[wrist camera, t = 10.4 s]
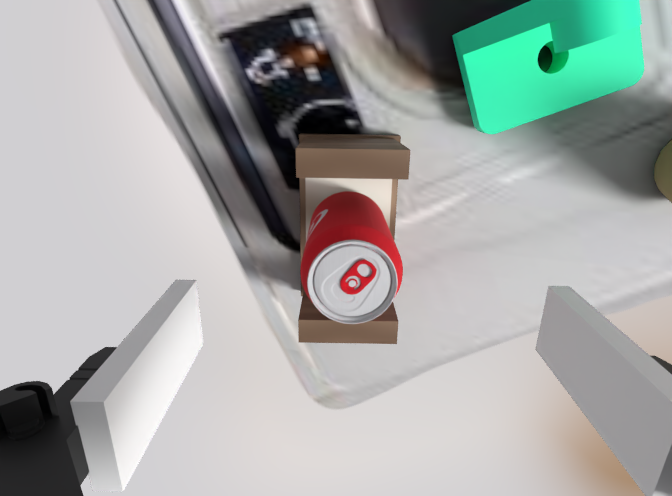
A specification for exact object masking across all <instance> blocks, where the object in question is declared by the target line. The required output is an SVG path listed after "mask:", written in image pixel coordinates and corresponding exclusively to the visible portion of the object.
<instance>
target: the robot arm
mask: <svg viewBox="0 0 672 496" xmlns="http://www.w3.org/2000/svg"><path fill="white" fill-rule="evenodd" d="M202 345H203V335H202V326H201V317H200V307H199V298H198V289H197V281H196V280H175V282H174V283H173V284H172V285H171V286H170V288H168V290H167V291H166V292H165V293H164V294H163V295H162V296H161V298H160V299H159V300H158V301H157V302H156V304H155V305H154V306H153V307H152V308H151V309H150V310H149V311H148V313H147V314H146V315H145V316H144V317H143V318H142V320H141V321H140V322H139V323H138V324H137V325H136V326H135V328H134V329H133V330H132V331H131V332H130V333H129V335H128V336H127V337H126V338H125V339H124V340H123V341H122V342H121V344H120V345H119V346H118V347H105V348H103V349H102V350H100V351H98V352H97V353H95V354H93V355H92V356H90V357H89V358H88V359H87V360H86V361H85V362H84V363H83V364H82V365H81V366H80V367H79V370H78V371H76V372H75V373H74V374H73V375H72V376H71V377H70V380H67V381H66V382H65V383H64V384H63V385H62V386H61V387H60V389H59V390H58V391H57V392H56V393H55V394H54V395H53V391H52V388H51V387H50V386H49V384H47V383H44V382H40V381H33V382H25V383H20V384H16V385H13V386H11V387H9V388H6V389H3V390H1V391H0V496H83V493H82V490H81V487H80V485H81V484H82V482H83V481H84V479H85V478H86V476H87V475H89V479H90V483H91V487H92V491H112V492H123V491H124V489H125V487H126V485H127V483H128V482H129V480H130V478H131V476H132V474H133V472H134V471H135V469H136V467H137V465H138V463H139V461H140V460H141V458H142V456H143V454H144V452H145V450H146V448H147V447H148V445H149V443H150V441H151V439H152V437H153V436H154V434H155V432H156V430H157V428H158V426H159V424H160V423H161V421H162V419H163V417H164V415H165V413H166V412H167V410H168V408H169V406H170V404H171V402H172V401H173V399H174V397H175V395H176V393H177V391H178V389H179V388H180V386H181V384H182V382H183V380H184V378H185V377H186V375H187V373H188V371H189V369H190V367H191V366H192V364H193V362H194V360H195V358H196V356H197V354H198V353H199V351H200V349H201V347H202ZM536 351H537V352H538V353H539V355H540V356H541V357H542V359H543V360H544V361H545V363H546V364H547V365H548V367H549V368H550V369H551V370H552V372H553V373H554V375H555V376H556V377H557V379H558V380H559V381H560V383H561V384H562V385H563V387H564V388H565V389H566V390H567V392H568V393H569V395H570V396H571V397H572V399H573V400H574V401H575V403H576V404H577V405H578V407H579V408H580V409H581V411H582V412H583V413H584V415H585V416H586V417H587V419H588V420H589V421H590V423H591V424H592V425H593V427H594V428H595V429H596V431H597V432H598V433H599V435H600V436H601V437H602V439H603V440H604V441H605V443H606V444H607V445H608V447H609V448H610V449H611V450H612V452H613V453H614V454H615V456H616V457H617V459H618V460H619V461H620V462H621V464H622V465H623V467H624V468H625V469H626V471H627V472H628V473H629V475H630V476H631V477H632V479H633V480H634V481H635V483H636V484H637V485H638V486H639V488H640V489H641V491H642V492H643V493H644V494H645V496H672V365H671V364H669V363H667V362H666V361H663V360H662V359H660V358H658V357H656V356H650V355H648V354H647V353H646V352H645V351H644V350H642V348H640V347H639V346H638V345H637V344H635V342H633V341H632V340H631V339H630V338H629V337H627V336H626V335H625V334H624V333H623V332H622V331H620V330H619V329H618V328H617V327H616V326H615V325H613V324H612V323H611V322H610V321H609V320H608V319H607V318H605V317H604V316H603V315H602V314H601V313H600V312H598V311H597V310H596V309H595V308H594V307H593V306H591V305H590V304H589V303H588V302H587V301H586V300H584V299H583V298H582V297H581V296H580V295H579V294H577V293H576V292H575V291H574V290H573V289H572V288H570V287H569V286H549V287H548V291H547V296H546V301H545V306H544V311H543V316H542V320H541V325H540V330H539V335H538V340H537V345H536Z"/></svg>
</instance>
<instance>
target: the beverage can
mask: <svg viewBox="0 0 672 496" xmlns="http://www.w3.org/2000/svg"><path fill="white" fill-rule="evenodd" d="M300 274H301V281H302V285H303V288H304V290H305V293H306V295H307V296H308V298H309V299H310V300H311V302H312V303H313V304H314V305H315V307H316V308H317V309H318V310H319V311H320V312H321V313H322V314H323V315H325V316H326V317H328V318H329V319H332V320H334V321H336V322H340V323H344V324H359V323H364V322H367V321H370V320H372V319H375V318H376V317H378V316H379V315H381V314H382V313H383V312H384V311H386V309H387V308H388V307H389V306H390V304H391V303H392V301H393V299H394V297H395V296H396V294H397V292H398V290H399V288H400V285H401V281H402V275H403V267H402V261H401V257H400V254H399V252H398V249H397V247H396V244H395V242H394V239H393V237H392V235H391V232H390V230H389V227H388V225H387V222H386V220H385V217H384V215H383V213H382V211H381V209H380V207H379V206H378V205H377V204H376V203H375V202H374V201H373V200H372V199H371V198H369V197H368V196H366V195H364V194H361V193H358V192H352V191H344V192H339V193H335V194H333V195H331V196H329V197H327V198H326V199H324V200H323V201H322V202H321V203H320V204H319V205H318V206H317V208H316V209H315V211H314V213H313V215H312V218H311V222H310V226H309V230H308V235H307V239H306V244H305V248H304V253H303V257H302V262H301V269H300Z"/></svg>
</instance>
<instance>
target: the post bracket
mask: <svg viewBox="0 0 672 496" xmlns="http://www.w3.org/2000/svg"><path fill="white" fill-rule="evenodd" d="M400 139H401V136H400V135H357V134H299V145H298V146H297V147H296V178H300V247H301V262H302V257H303V253H304V248H305V244H306V239H307V235H308V230H309V226H310V222H311V218H312V215H313V213H314V211H315V209H316V208H317V206H318V205H319V204H320V203H321V202H322V201H323V200H324V199H326V198H327V197H329V196H331V195H333V194H335V193H339V192H344V191H352V192H358V193H361V194H364V195H366V196H368V197H369V198H371V199H372V200H373V201H374V202H375V203H376V204H377V205H378V206H379V207H380V209H381V211H382V213H383V215H384V217H385V220H386V222H387V225H388V227H389V230H390V232H391V235H392V237H393V239H394V235H395V219H396V203H397V187H398V179H408V175H409V161H410V149H408V148H407V147H405V146H404V145H402V144H401V143H400ZM301 296H303V298H302V303H301V309H300V314H299V320H298V322H299V342H313V343H377V344H397V331H398V319H397V315H396V311H395V308H394V304H393V301H392V303H391V304H390V306H389V307H388V308H387V309H386V311H384V312H383V313H382V314H381V315H379V316H378V317H376V318H375V319H372V320H370V321H367V322H364V323H359V324H344V323H340V322H336V321H334V320H332V319H329V318H328V317H326V316H325V315H323V314H322V313H321V312H320V311H319V310H318V309H317V308H316V307H315V305H314V304H313V303H312V302H311V300H310V299H309V298H308V296H307V295H306V293H305V290H304V288H303V285H302V281H301Z"/></svg>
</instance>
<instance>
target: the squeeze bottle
mask: <svg viewBox="0 0 672 496" xmlns="http://www.w3.org/2000/svg"><path fill="white" fill-rule="evenodd" d="M654 180H655V182H656V185H657V187H658V190H659V191H660V192H661V193H662V194H663V195H664V196H665V197H666V198H667V199H668V200H669V201H670V202H671V203H672V139H671V140H670V142H669V143H668V144H667V145H666V146H665V147H664V148H663V149H662V150H661V152H660V154H659V156H658V159H657V161H656V163H655V169H654Z"/></svg>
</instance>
